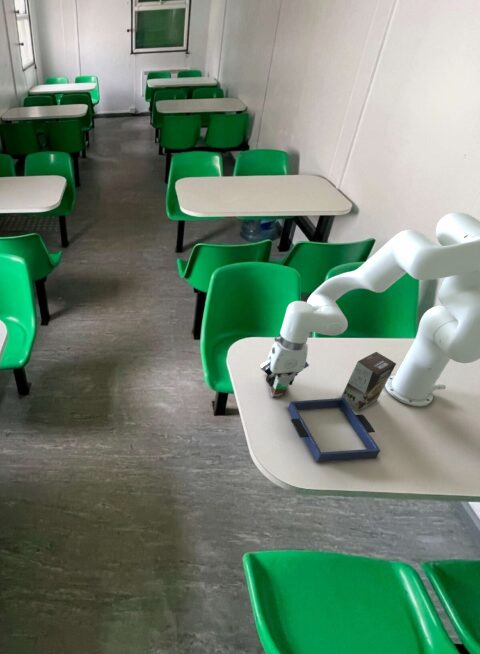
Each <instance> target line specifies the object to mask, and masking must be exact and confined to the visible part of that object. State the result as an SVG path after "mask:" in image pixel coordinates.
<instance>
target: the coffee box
mask: <svg viewBox="0 0 480 654" xmlns="http://www.w3.org/2000/svg"><path fill="white" fill-rule="evenodd" d="M396 366H397V363H396V362H394V361H393V360H392V359H390V358H388V357H386V356H385V355H382V354H381V353H380V352H378V351H375V352H373V353H370V354H369V355H367V356H365V357H364V358H361V359H359V360H358V361H357V362H356V364H355V366H354V368H353V370H352V373H351V375H350V377H349V379H348V381H347V383H346V386H345V387H344V390H343V393H342V394H341V395H340V398H344V399H345V400H346V402H347V403H348V405H349V406H350V407H351V409H353V410H355V411H356V412H360V411H361V410H364V409H365V408H367V407H368V406H370V405H372V404H374V403H375V402H377V401H378V400H379V398H380V395H381V393H382V392H383V390H384V388H385V384H386V382H387V380H388V379H389V377H390V376H392V373H393V371H394V369H395V367H396Z"/></svg>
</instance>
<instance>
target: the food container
mask: <svg viewBox="0 0 480 654" xmlns="http://www.w3.org/2000/svg"><path fill="white" fill-rule="evenodd" d="M274 377H275V379H274V382H273V386H269V389H270V390H269V391H270V394H271V397H272V398H275V399H277V398H280V397H282V396H284V395H285V394H286V392H287V390H288V388H289V386H290V385H289V383H290V381H291V380H293V379H294V380H295V378H296V376H295V372H293V373H276V374H275V375H274ZM294 377H295V378H294Z"/></svg>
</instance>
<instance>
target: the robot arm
mask: <svg viewBox="0 0 480 654" xmlns="http://www.w3.org/2000/svg"><path fill="white" fill-rule="evenodd" d="M439 219H440V220H438V222H437V224H436V226H435V236H436V239H437V241H438V243H439V244H437V243H436V242H435V241H434V240H433V239H431V238H430V237H429V236H427V235H426V234H425V233H422V232H420V231H418V230H416V229H404V230H401V231H399V232H398V233H396V234H395V235H394V236H393V237H391V238H390V240H388V241H387V242H386V243H385V244H383V245H382V246H381V247H380V248H379V249H378V250H377V251H376V252H375V253H374V254H373V255H372V256H370V257H369V258H368V259H367V260H366V261H365V262H363V264H361V265H360V266H359V267H358V268H357V269H354V270H352V271H347V272H343V273H340V274H338V275H335V276H332V277H330V278H328V279H327V280H325V281H324V282H323V283H321V285H319V286H318V287H317V288H316V289H315V290H314V291H313V292H312V293H311V294H310V295H309V297H308V298H307V300H306V301H304V300H295V301H292V302H291V303H289V304H288V306H287V307H286V311H285V314H284V317H283V321H282V325H281V328H280V332H279V333H278V336H276V337H274V343H273V344H272V346H271V349H270V350H269V354H268V355H267V359H266V360H265V361H264V362H262V363H261V364H259V368H260V370H261V371H263V372H264V373H265V374H266V378H265V382H266V383H267V384H268V386H269V387H270V386H273V382H274V379H275V377H274V375H275V374H276V373H293V372H295V377H294V379H293V380H291V381H290V383H289V385H288V386H292V385H293V383H294V381H295V378H296V377H297V376H298V375H299V373H301V372H302V371H303V370H305V369H307V368H308V367H309V366H310V364H309V363H308V361H307V358H308V351H309V350H308V349H309V344H308V343H307V342H308V339H309V336H310V334H311V333H314V334H316V333H317V334H320V335H323V336H338V335H341V334H343V333H344V332H346V331H347V329H348V326H349V325H348V324H349V322H348V319H347V317H346V316H345V314H344V313H343V311H342V310H341V308H340V307H339V305H338V303H337V302H336V301H338V300H339V299H340V298H341V297H342V296H343V295H345V294H346V293H348V292H350V291H353V290H359V289H362V290H363V289H364V290H368V291H371V292H374V293H383V292H385V291H386V290H388V289H389V288H390V287H391V286H392V285H393V284H395V283H396V282H397V281H399V280H400V279H401V278H402V277H403V276H405V275H406V274H408V275H409V276H410V277H412V279H415V280H418V281H431V280H439V279H443V281H442V283H441V286H440V288H439V291H438V296H437V298H438V301H439V302H440V304H441V305H435V306H433V307H430V308H429V309H428V310H426V311H425V312H424V313H423V315H422V316H421V318H420V321H419V324H418V328H417V332H416V335H415V337H414V340H413V342H412V344H411V346H410V348H409V349H408V351H407V353H406V355H405V357H404V358H403V361H402V362H401V365H400V366H399V368H398V370H397V371H396V374H393V375H392V374H391V375H390V377H389V379H388V380H387V382H386V384H385V386H384V388H385V389H386V391H387V392H388V393H389V395H390V396H392V397H393V398H394V399H395V400H397V401H399V402H400V403H403V404H406V405H408V406H413V407H426V406H428V405H429V404H431V403H432V401H433V400H434V395H433V392H434V391H436V390H445V389H446V384H445V383H443V382H440V383H437V381H438V379H439V378H440V377H441V374H442V373H443V372H444V370H445V368H446V367H447V365H448V364H449V362H450V361H454V362H456V363H459V364H470V363H473V362H477V361H478V360H480V220H478V219H477V218H476V217H474V216H472V215H470V214H467V213H464V212H450V213H448V214H447V213H446V214H445V215H444V216H442V217H441V218H439Z"/></svg>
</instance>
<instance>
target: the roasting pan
mask: <svg viewBox="0 0 480 654" xmlns="http://www.w3.org/2000/svg"><path fill="white" fill-rule="evenodd" d="M338 408H339V410H340V411H341V412H342V414H343V415H344V417H345V418H346V420H347V422H348V423H349V425H350V426H351V428H352V429H353V430H354V432H355V433H356V435H357V436H358V438H359V440H360V441H361V442H362V444H363V445H364V447H365V448H364V449H361V448H360V449H348V450H347V449H346V450H333V451H321V449H320V447H319V445H318V444H317V442H316V440H315V438H314V437H313V435H312V433H311V431H310V429H309V428H308V426H307V424H306V422H305V421H304V419H303V416H302V415H301V413H300V412H299V411H309V410H310V411H311V410H324V409H338ZM287 411H288V412H289V414H290V417H291V419H290V422H291V425H293V428H294V429H295V431H296V433H297V435H298V437H299V438H302V439H303V441H304V442H305V444H306V446H307V448H308V449H309V452H310V453H311V455H312V458H313V459H314V460H315V462H316V463H328V462H343V461H358V460H370V459H371V460H372V459H377V458H378V456H379V454H380V452H381V451H382V450H381V449H380V448H379V446H378V444H377V443H376V441H374V439H373V438H372V435H370V434H371V433H375V432H376V430H375V428H374V427H373V425H371V423H370V421H369V420H368V419H367V418H366V415H364V414H363V413H361V414H356V413H355V412H354V409H353V408H352V407H351V406H350V405H348V403H347V402H346V400H345V399H344V398H341V397H337V398H334V397H333V398H320V399H307V400H306V399H305V400H292V401H291V400H290V401H289V403H288V405H287Z"/></svg>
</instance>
